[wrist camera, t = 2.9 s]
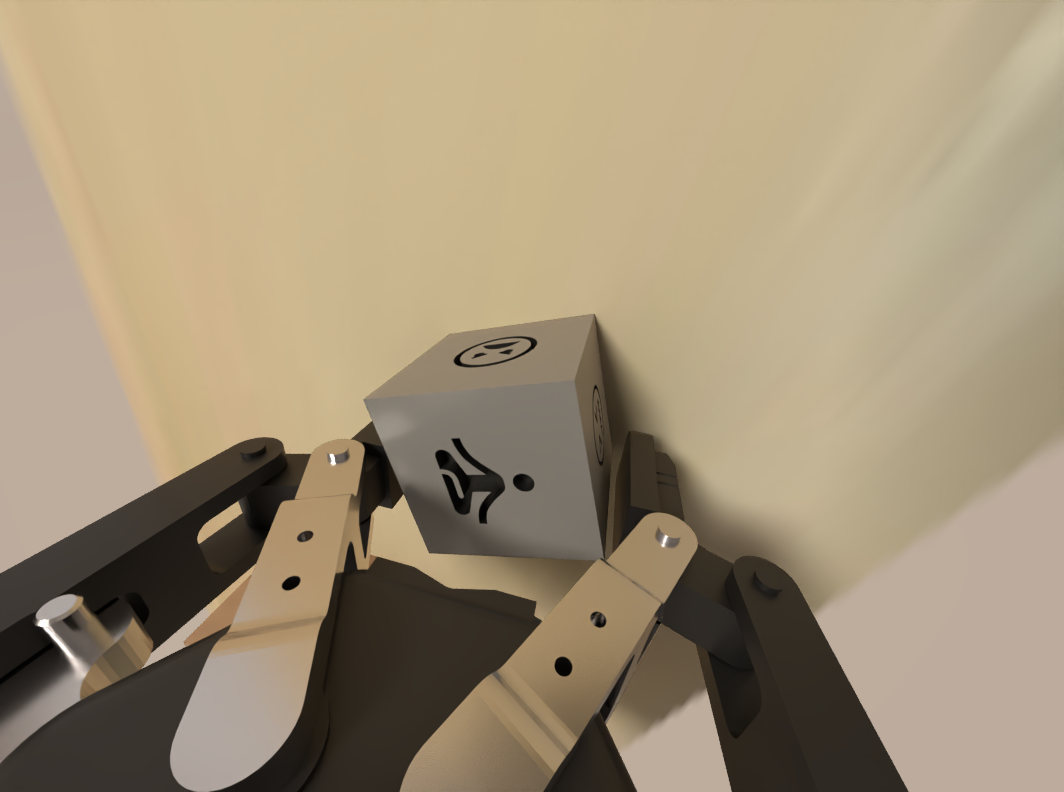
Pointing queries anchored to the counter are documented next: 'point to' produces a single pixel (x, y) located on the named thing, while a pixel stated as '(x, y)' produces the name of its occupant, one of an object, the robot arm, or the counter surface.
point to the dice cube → (503, 441)
